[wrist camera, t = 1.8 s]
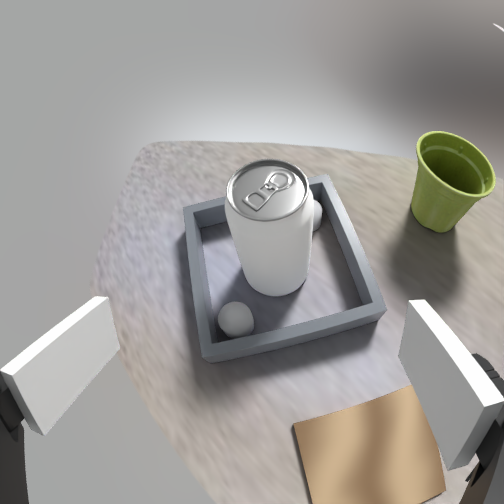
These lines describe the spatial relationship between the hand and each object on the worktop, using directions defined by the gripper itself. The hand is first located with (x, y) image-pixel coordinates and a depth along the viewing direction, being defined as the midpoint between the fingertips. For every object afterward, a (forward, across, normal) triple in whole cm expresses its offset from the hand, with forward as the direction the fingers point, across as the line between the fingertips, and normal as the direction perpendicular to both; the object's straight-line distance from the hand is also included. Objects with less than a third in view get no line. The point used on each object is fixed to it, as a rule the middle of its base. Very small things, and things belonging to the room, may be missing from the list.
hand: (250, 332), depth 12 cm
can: (+19, 0, -3) cm, 19 cm away
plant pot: (+24, +19, +2) cm, 30 cm away
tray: (+18, 0, -3) cm, 19 cm away
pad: (+5, +9, -17) cm, 20 cm away
